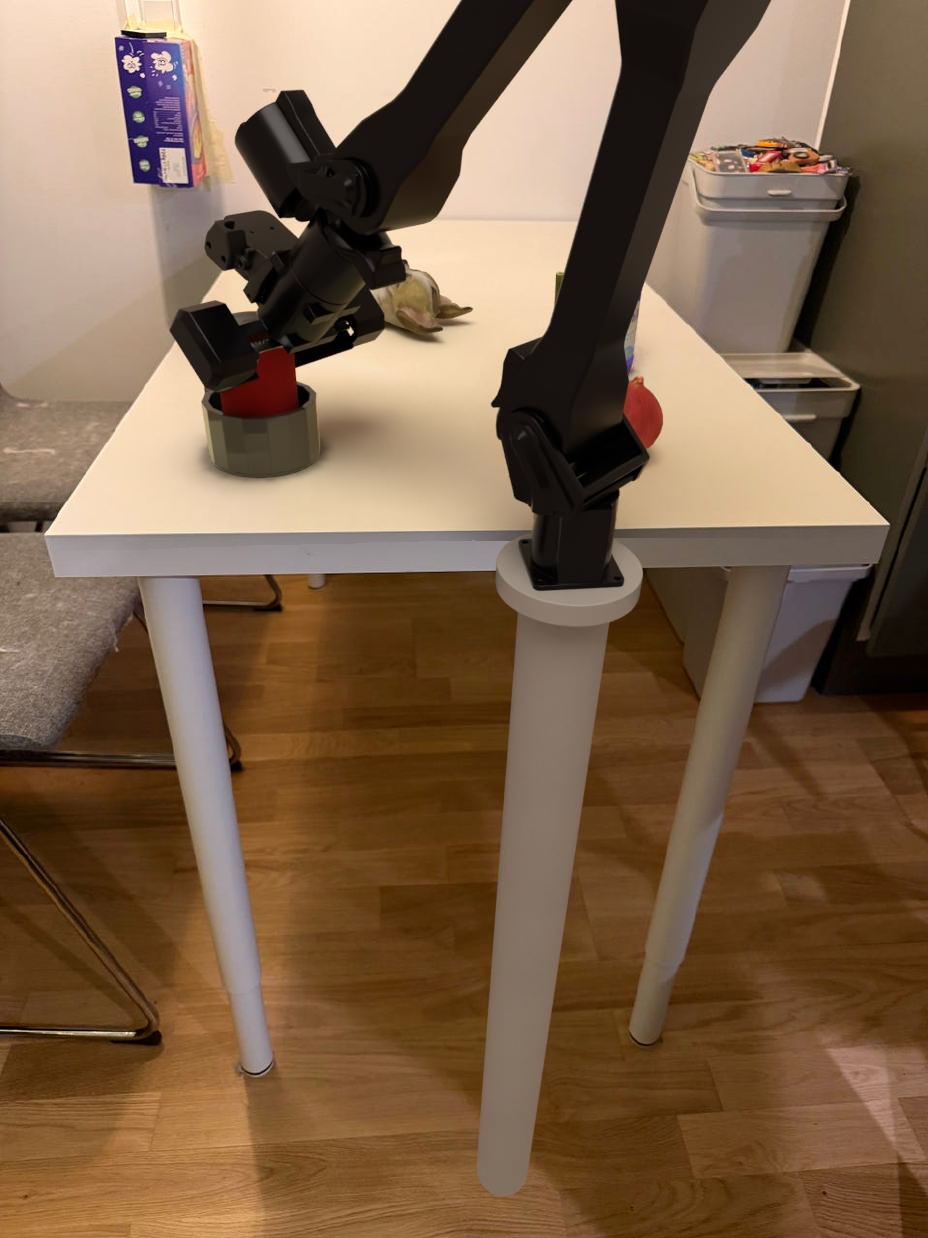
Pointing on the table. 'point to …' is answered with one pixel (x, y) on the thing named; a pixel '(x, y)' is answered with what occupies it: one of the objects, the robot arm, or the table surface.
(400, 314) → the ceramic sculpture
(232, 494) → the table surface
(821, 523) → the table surface
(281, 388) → the beverage can
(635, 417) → the onion
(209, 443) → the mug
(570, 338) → the robot arm
